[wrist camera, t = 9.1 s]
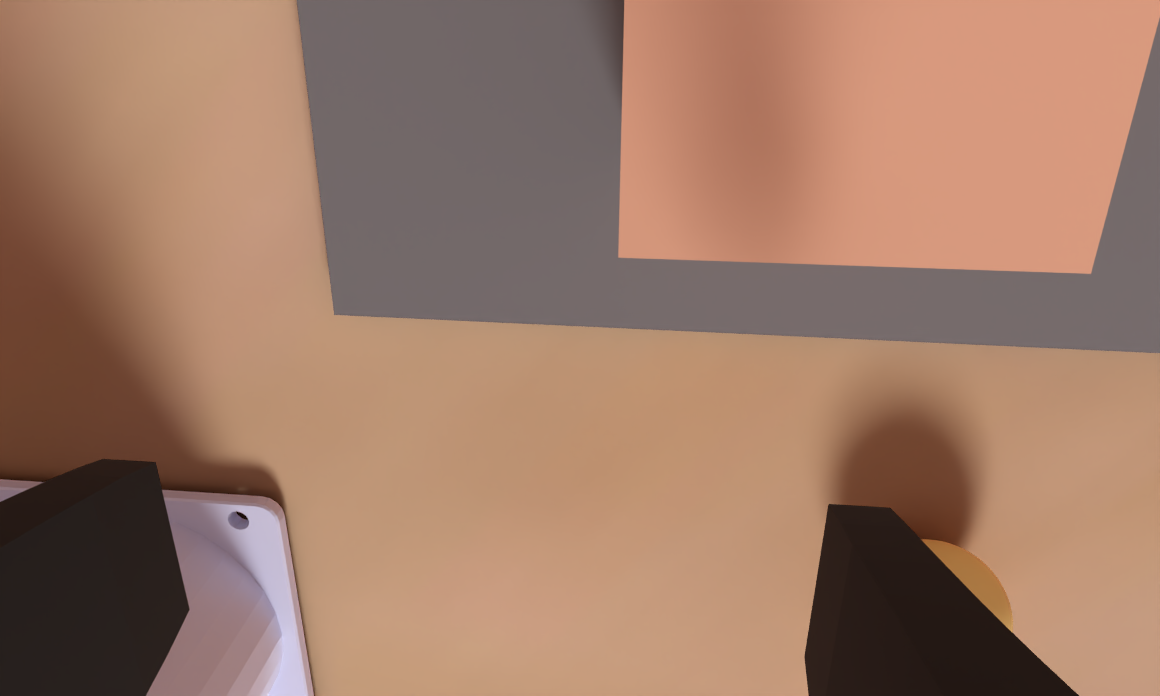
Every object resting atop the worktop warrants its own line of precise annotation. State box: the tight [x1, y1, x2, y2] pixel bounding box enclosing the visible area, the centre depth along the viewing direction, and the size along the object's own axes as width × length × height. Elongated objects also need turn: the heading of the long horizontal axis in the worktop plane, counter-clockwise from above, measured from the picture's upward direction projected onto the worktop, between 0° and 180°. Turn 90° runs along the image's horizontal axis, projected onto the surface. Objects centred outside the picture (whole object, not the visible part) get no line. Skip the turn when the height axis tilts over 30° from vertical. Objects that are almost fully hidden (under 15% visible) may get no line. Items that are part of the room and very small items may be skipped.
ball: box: [921, 539, 1013, 633], centre depth 19 cm, size 3×3×3 cm
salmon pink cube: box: [618, 0, 1160, 274], centre depth 12 cm, size 6×6×6 cm
